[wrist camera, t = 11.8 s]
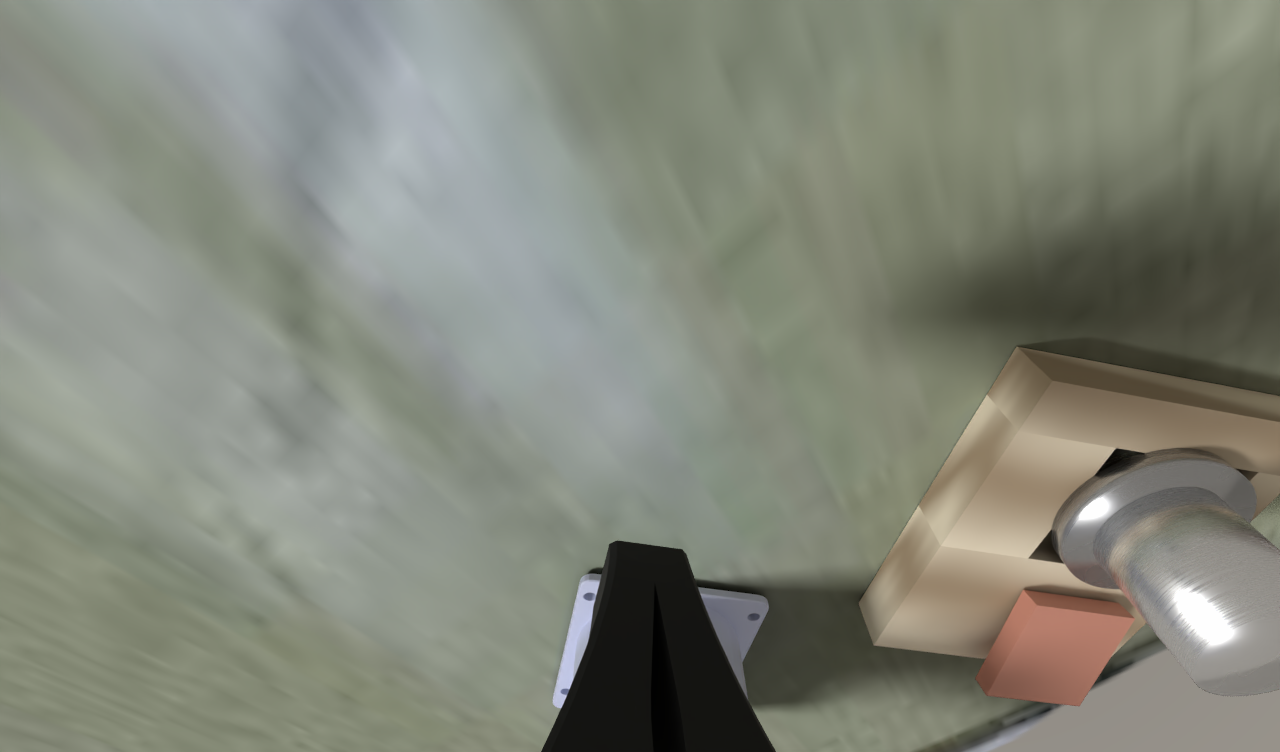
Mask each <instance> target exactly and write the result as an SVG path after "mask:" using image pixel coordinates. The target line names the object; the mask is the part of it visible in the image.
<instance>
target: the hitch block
mask: <svg viewBox="0 0 1280 752" xmlns="http://www.w3.org/2000/svg"><path fill="white" fill-rule="evenodd" d="M1116 448H1119V449H1125V450H1131V451H1137V452H1142V453H1147V452H1151V451H1156V450H1161V449H1170V448H1193V449H1200V450H1204V451H1208V452H1211V453H1213V454H1216V455H1218V456H1219V457H1221V458H1222V459H1224V460H1225V461H1226V462H1228V463H1229V464H1230V465H1231V466H1233V467H1234V468H1235V469H1236V470H1238V471H1239V472H1240V473H1241V474H1242V475H1244V476H1245V477H1246V478H1247V479H1248V480H1249V481H1250V482H1251V484H1252V485H1253V487H1254V489H1255V492H1256V496H1257V505H1256V510H1255V513H1254V516H1253V518H1252V520H1253V519H1254V518H1255V517H1256V516H1257V515H1258V514H1259V513H1260V512H1261V511H1262V510H1263V509H1265V508H1266V507H1267V506H1268V505H1269V504H1270V503H1271V502H1272V501H1273V500H1274V499H1275V498H1276V497H1277V496H1278V495H1279V494H1280V396H1277V395H1271V394H1266V393H1261V392H1256V391H1250V390H1245V389H1240V388H1234V387H1229V386H1224V385H1218V384H1213V383H1208V382H1202V381H1197V380H1192V379H1186V378H1181V377H1176V376H1171V375H1165V374H1160V373H1155V372H1149V371H1144V370H1139V369H1133V368H1128V367H1123V366H1117V365H1112V364H1107V363H1102V362H1096V361H1091V360H1086V359H1080V358H1075V357H1070V356H1064V355H1059V354H1054V353H1048V352H1043V351H1038V350H1032V349H1027V348H1022V347H1016V348H1015V350H1014V352H1013V353H1012V355H1011V356H1010V358H1009V360H1008V361H1007V363H1006V365H1005V366H1004V368H1003V369H1002V371H1001V373H1000V374H999V376H998V378H997V379H996V381H995V382H994V384H993V386H992V387H991V389H990V391H989V392H988V394H987V395H986V397H985V399H984V400H983V402H982V403H981V405H980V407H979V408H978V410H977V412H976V413H975V415H974V416H973V418H972V420H971V421H970V423H969V425H968V426H967V428H966V429H965V431H964V433H963V434H962V436H961V438H960V439H959V441H958V442H957V444H956V446H955V447H954V449H953V451H952V452H951V454H950V455H949V457H948V459H947V460H946V462H945V463H944V465H943V467H942V468H941V470H940V472H939V473H938V475H937V476H936V478H935V480H934V481H933V483H932V485H931V486H930V488H929V489H928V491H927V493H926V494H925V496H924V498H923V499H922V501H921V502H920V504H919V506H918V507H917V509H916V511H915V512H914V514H913V515H912V517H911V519H910V520H909V522H908V524H907V525H906V527H905V528H904V530H903V532H902V533H901V535H900V536H899V538H898V540H897V541H896V543H895V545H894V546H893V548H892V549H891V551H890V553H889V554H888V556H887V558H886V559H885V561H884V562H883V564H882V566H881V567H880V569H879V571H878V572H877V574H876V575H875V577H874V579H873V580H872V582H871V584H870V585H869V587H868V588H867V590H866V592H865V593H864V595H863V597H862V598H861V600H860V601H859V603H858V604H859V606H860V609H861V612H862V615H863V618H864V620H865V623H866V626H867V629H868V631H869V634H870V637H871V640H872V642H873V645H874V646H883V647H891V648H899V649H907V650H915V651H923V652H932V653H940V654H948V655H956V656H964V657H973V658H981V659H986V658H987V656H988V654H989V652H990V650H991V648H992V646H993V645H994V643H995V641H996V639H997V637H998V635H999V633H1000V632H1001V630H1002V628H1003V626H1004V624H1005V622H1006V620H1007V619H1008V617H1009V615H1010V613H1011V611H1012V609H1013V608H1014V606H1015V604H1016V602H1017V600H1018V598H1019V596H1020V595H1021V593H1022V591H1023V590H1028V591H1036V592H1043V593H1050V594H1057V595H1065V596H1072V597H1079V598H1086V599H1094V600H1101V601H1108V602H1115V603H1119V604H1120V605H1121V606H1123V607H1124V608H1125V609H1126V610H1127V611H1128V612H1129V613H1130V614H1131V615H1132V616H1133V617H1134V618H1135V620H1134V622H1133V623H1132V625H1131V626H1130V628H1129V629H1128V631H1127V633H1126V634H1125V636H1124V637H1123V639H1122V640H1121V642H1120V643H1119V645H1118V647H1117V648H1116V650H1115V651H1114V653H1113V654H1112V656H1113V655H1114V654H1115V653H1116V652H1117V651H1118V650H1119V649H1120V648H1121V647H1122V646H1123V645H1124V644H1125V643H1126V642H1127V641H1128V640H1129V639H1130V638H1131V637H1132V636H1133V635H1134V634H1135V633H1136V632H1137V631H1138V630H1139V629H1140V628H1141V627H1143V626H1144V625H1145V624H1146V623H1147V622H1146V621H1145V620H1144V619H1143V617H1142V616H1141V615H1140V613H1139V612H1138V611H1137V610H1136V608H1135V607H1134V606H1133V605H1132V603H1131V602H1130V601H1129V600H1128V598H1127V597H1126V596H1125V595H1124V593H1123V592H1122V591H1121V590H1120V589H1106V588H1100V587H1095V586H1092V585H1089V584H1087V583H1085V582H1083V581H1081V580H1079V579H1078V578H1076V577H1075V576H1074V575H1073V574H1072V573H1071V572H1070V571H1069V569H1068V568H1067V566H1066V565H1065V564H1064V562H1063V561H1062V560H1061V558H1060V557H1059V556H1058V554H1057V553H1056V551H1055V549H1054V548H1053V545H1052V542H1051V528H1052V524H1053V521H1054V518H1055V516H1056V514H1057V512H1058V510H1059V509H1060V507H1061V506H1062V505H1063V503H1064V502H1065V501H1066V500H1067V498H1068V497H1069V496H1070V495H1071V494H1072V493H1073V492H1074V491H1075V490H1076V489H1077V488H1078V487H1079V486H1081V485H1082V484H1083V483H1085V482H1086V481H1087V480H1088V479H1090V478H1091V477H1093V476H1094V475H1095V474H1096V473H1097V471H1098V470H1099V469H1100V468H1101V466H1102V465H1103V464H1104V463H1105V461H1106V460H1107V459H1108V458H1109V456H1110V455H1111V454H1112V453H1113V451H1114V450H1115V449H1116ZM1252 520H1251V521H1252Z"/></svg>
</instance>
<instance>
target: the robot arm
mask: <svg viewBox="0 0 1280 752" xmlns="http://www.w3.org/2000/svg"><path fill="white" fill-rule="evenodd" d="M768 610H769V605H768V601H767V599H766V598H765V597H764V596H761V595H755V594H748V593H740V592H732V591H724V590H717V589H709V588H701V587H697V584H696V581H695V579H694V576H693V573H692V570H691V567H690V564H689V561H688V558H687V555H686V553H685V552H684V551H683V550H682V549H675V548H668V547H661V546H653V545H646V544H639V543H631V542H624V541H615V542H613V543H611V544H609V548H608V552H607V556H606V560H605V564H604V567H603V571H602V575H601V574H587V575H584V576H583V577H582V578H581V580H580V583H579V587H578V591H577V596H576V600H575V604H574V609H573V613H572V617H571V621H570V626H569V630H568V634H567V639H566V643H565V647H564V652H563V656H562V660H561V665H560V669H559V673H558V677H557V682H556V686H555V690H554V695H553V704H554V705H555V706H556V707H558V708H561V710H560V712H559V715H558V717H557V719H556V721H555V724H554V726H553V728H552V730H551V732H550V734H549V736H548V738H547V741H546V743H545V745H544V747H543V749H542V751H541V752H776V751H775V749H774V747H773V746H772V744H771V742H770V740H769V739H768V737H767V735H766V733H765V731H764V730H763V728H762V726H761V724H760V722H759V720H758V719H757V717H756V715H755V713H754V711H753V709H752V707H751V705H750V703H749V701H748V696H747V689H746V683H745V677H744V671H743V664H742V662H743V660H744V658H745V656H746V654H747V652H748V650H749V648H750V646H751V644H752V642H753V640H754V638H755V636H756V634H757V632H758V630H759V628H760V626H761V624H762V622H763V620H764V618H765V616H766V614H767V612H768Z"/></svg>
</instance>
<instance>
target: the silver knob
mask: <svg viewBox="0 0 1280 752" xmlns="http://www.w3.org/2000/svg"><path fill="white" fill-rule="evenodd" d="M1256 505H1257V496H1256V492H1255V489H1254V487H1253V485H1252V484H1251V482H1250V481H1249V480H1248V479H1247V478H1246V477H1245V476H1244V475H1242V474H1241V473H1240V472H1239V471H1238V470H1236V469H1235V468H1234V467H1233V466H1231V465H1230V464H1229V463H1228V462H1226V461H1225V460H1224V459H1222V458H1221V457H1219V456H1218V455H1216V454H1213V453H1211V452H1208V451H1204V450H1200V449H1193V448H1170V449H1161V450H1156V451H1151V452H1147V453H1142V452H1137V451H1131V450H1125V449H1119V448H1116V449H1115V450H1114V451H1113V453H1112V454H1111V455H1110V456H1109V458H1108V459H1107V460H1106V461H1105V463H1104V464H1103V465H1102V466H1101V468H1100V469H1099V470H1098V471H1097V473H1096V474H1095V475H1094V476H1093V477H1091V478H1090V479H1088V480H1087V481H1086V482H1085V483H1083V484H1082V485H1081V486H1079V487H1078V488H1077V489H1076V490H1075V491H1074V492H1073V493H1072V494H1071V495H1070V496H1069V497H1068V498H1067V500H1066V501H1065V502H1064V503H1063V505H1062V506H1061V507H1060V509H1059V510H1058V512H1057V514H1056V516H1055V518H1054V521H1053V524H1052V528H1051V542H1052V545H1053V548H1054V549H1055V551H1056V553H1057V554H1058V556H1059V557H1060V558H1061V560H1062V561H1063V562H1064V564H1065V565H1066V566H1067V568H1068V569H1069V571H1070V572H1071V573H1072V574H1073V575H1074V576H1075V577H1076V578H1078V579H1079V580H1081V581H1083V582H1085V583H1087V584H1089V585H1092V586H1095V587H1100V588H1106V589H1120V590H1121V591H1122V592H1123V593H1124V595H1125V596H1126V597H1127V598H1128V600H1129V601H1130V602H1131V603H1132V605H1133V606H1134V607H1135V608H1136V610H1137V611H1138V612H1139V613H1140V615H1141V616H1142V617H1143V619H1144V620H1145V621H1146V622H1147V624H1148V625H1149V626H1150V627H1151V629H1152V630H1153V631H1154V632H1155V634H1156V635H1157V636H1158V637H1159V639H1160V640H1161V641H1162V642H1163V644H1164V645H1165V646H1166V647H1167V649H1168V650H1169V651H1170V652H1171V653H1172V655H1173V656H1174V657H1175V658H1176V660H1177V661H1178V662H1179V663H1180V665H1181V666H1182V667H1183V668H1184V670H1185V671H1186V672H1187V673H1188V675H1189V676H1190V677H1191V679H1192V680H1193V681H1194V682H1195V683H1196V685H1197V686H1198V687H1199V688H1201V689H1203V690H1204V691H1207V692H1209V693H1212V694H1217V695H1222V696H1247V695H1255V694H1261V693H1267V692H1271V691H1275V690H1279V689H1280V550H1279V549H1278V548H1277V547H1276V546H1274V545H1273V544H1272V543H1271V542H1270V541H1269V540H1268V539H1267V538H1265V537H1264V536H1263V535H1262V534H1261V533H1260V532H1259V531H1257V530H1256V529H1255V528H1254V527H1253V526H1252V525H1251V524H1250V522H1251V520H1252V518H1253V516H1254V513H1255V510H1256Z"/></svg>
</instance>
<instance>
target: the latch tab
mask: <svg viewBox="0 0 1280 752" xmlns="http://www.w3.org/2000/svg"><path fill="white" fill-rule="evenodd" d="M1134 620H1135V618H1134V617H1133V616H1132V615H1131V614H1130V613H1129V612H1128V611H1127V610H1126V609H1125V608H1124V607H1123V606H1121V605H1120V604H1119V603H1115V602H1108V601H1101V600H1094V599H1086V598H1079V597H1072V596H1065V595H1057V594H1050V593H1043V592H1036V591H1028V590H1023V591H1022V593H1021V595H1020V596H1019V598H1018V600H1017V602H1016V604H1015V606H1014V608H1013V609H1012V611H1011V613H1010V615H1009V617H1008V619H1007V620H1006V622H1005V624H1004V626H1003V628H1002V630H1001V632H1000V633H999V635H998V637H997V639H996V641H995V643H994V645H993V646H992V648H991V650H990V652H989V654H988V656H987V658H986V659H985V661H984V663H983V665H982V667H981V669H980V670H979V672H978V674H977V676H976V678H975V679H976V680H977V682H978V683H979V685H980V686H981V688H982V689H983V691H984V692H985V694H986V696H994V697H1003V698H1011V699H1020V700H1029V701H1038V702H1046V703H1055V704H1064V705H1072V706H1080V705H1081V703H1082V701H1083V700H1084V698H1085V697H1086V695H1087V694H1088V692H1089V690H1090V689H1091V687H1092V686H1093V684H1094V683H1095V681H1096V680H1097V678H1098V676H1099V675H1100V673H1101V672H1102V670H1103V669H1104V667H1105V665H1106V664H1107V662H1108V661H1109V659H1110V658H1111V656H1112V654H1113V653H1114V651H1115V650H1116V648H1117V647H1118V645H1119V643H1120V642H1121V640H1122V639H1123V637H1124V636H1125V634H1126V633H1127V631H1128V629H1129V628H1130V626H1131V625H1132V623H1133V622H1134Z"/></svg>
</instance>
